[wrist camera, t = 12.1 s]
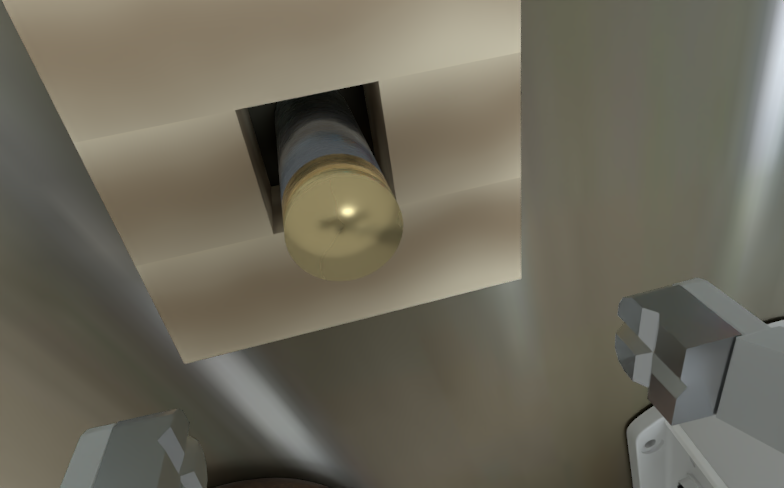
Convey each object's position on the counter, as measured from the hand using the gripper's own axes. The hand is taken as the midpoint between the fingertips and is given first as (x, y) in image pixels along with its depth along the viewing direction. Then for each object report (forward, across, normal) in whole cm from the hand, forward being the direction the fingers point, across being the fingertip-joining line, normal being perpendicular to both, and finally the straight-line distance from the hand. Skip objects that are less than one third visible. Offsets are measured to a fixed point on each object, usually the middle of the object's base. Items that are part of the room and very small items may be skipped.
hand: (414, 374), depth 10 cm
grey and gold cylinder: (+14, -1, +1) cm, 14 cm away
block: (+14, -1, +1) cm, 14 cm away
